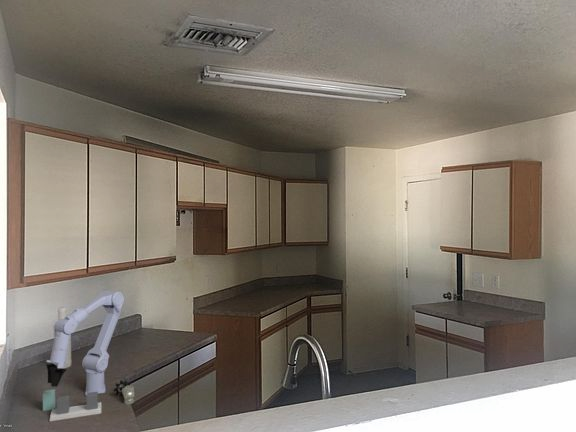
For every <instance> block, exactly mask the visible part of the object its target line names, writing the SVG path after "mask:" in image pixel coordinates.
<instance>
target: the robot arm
mask: <svg viewBox="0 0 576 432" xmlns="http://www.w3.org/2000/svg"><path fill="white" fill-rule="evenodd" d="M124 302H125V297H124V295H123V293H122V292H121V291H111V290H107V289H106V290H101V291H100V292H99V293H97V295H96V297H95V298H94V299H92V300H91V301H90V302H89V303H87V304H86V305H85V306H84V307H83V308H82V307H77V308H75V309H74V311H72V312H71V313H70V314H69V315H67V314H66V317H65V318H64V319H59V320H58V319H57V321H56V322H55V323H54V324H53V332H54V331H55V334H54V333H53V336H54V335H55V338H54V337H53V344H52V349H51V354H50V358H49V359H46V360H45V362H46V363H47V364H45V366H46V369H47V383H48V384H50V386H51V387H54V388H56V387H58V385H59V384H60V382H61V379H62V377H63V375H64V374H65V373H66V371H67V368H63V365H64V364H65V363H66V361H65V360H66V355H67V351H68V346H69V341H70V336H71V337H72V334H73V333H74V332H75V331H76V330H77V327H78V326H79V325H80V324H82V323H84V321H86V320H87V319H88V317H89V315H90V314H91V313H93V312H95V310H97V309H99V308H100V307H103V309H105V311H106V313H107V314H106V316H105V317H104V320H103V323H102V326H101V328H100V331H99V333H98V336H97V339H96V341H95V343H94V346H93V347H92V348H90V349H89V350H88V351H87V353H86V355H85V356H84V357H83V359H82V368H83V369H84V371H85V372H86V377H85V378H86V381H85V382H86V383H85V384H86V387H85V393H84V395H85V396H87V393H91V392H98V395H99V394H105V393H106V384H105V372H106V370H107V367H108V366H109V358H110V355H109V353H108V351H107V350H108V347H109V345H110V342H111V339H112V337H113V334H114V331H115V330H116V327H117V323H118V322H119V318H120V315H121V313H122V307H123V304H124ZM48 363H49V364H48Z"/></svg>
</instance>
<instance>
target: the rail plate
mask: <svg viewBox="0 0 576 432" xmlns="http://www.w3.org/2000/svg"><path fill="white" fill-rule="evenodd" d="M50 411H51V413H50V416H49V422H53V421H54V422H56V421H61V420H62V421H63V420H67V419H74V418H81V417H86V416H92V415H100V414H102V402H101V401H100V402H99V394H98V392H91V393H87V395H86V404H81V405H75V406H70V395H63V396H58V397H57V399H56V408H54V409H53V410H50Z"/></svg>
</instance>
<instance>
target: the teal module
mask: <svg viewBox="0 0 576 432" xmlns="http://www.w3.org/2000/svg"><path fill="white" fill-rule="evenodd" d="M42 393H43V394H42V412H45V411H52V410H53V409H56V388H54V389H46V390H43V392H42Z"/></svg>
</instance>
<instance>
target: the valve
mask: <svg viewBox="0 0 576 432" xmlns="http://www.w3.org/2000/svg"><path fill="white" fill-rule="evenodd" d="M128 383H129V382H128V381H127V380H125V381H123V380H122V379H120V380H119V383H117V382H116V383H115V387H114V388H113V392H114V393H115V394H114V395H115V396H118V395H119V396H121V397H122V396H123V400H124V402H123V403H124V404H125V405H132V404H134V403H135V398H134V397H135V386H133V385H131V384H130V385H129V384H128ZM122 385H123V386H122Z"/></svg>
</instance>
